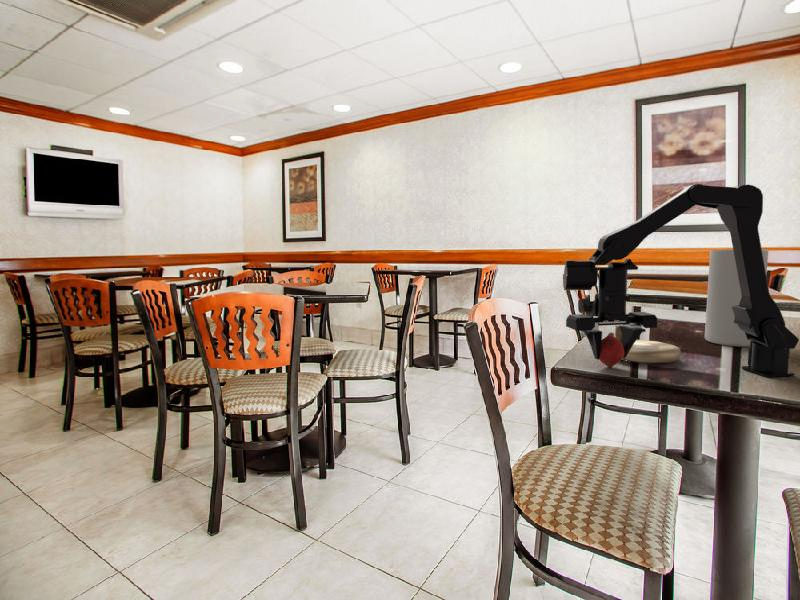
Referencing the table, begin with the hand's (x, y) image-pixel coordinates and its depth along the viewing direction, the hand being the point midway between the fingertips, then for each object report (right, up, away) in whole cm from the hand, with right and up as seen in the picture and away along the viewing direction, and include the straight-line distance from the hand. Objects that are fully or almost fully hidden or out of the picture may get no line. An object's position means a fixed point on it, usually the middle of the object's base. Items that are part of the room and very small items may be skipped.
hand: (610, 358), depth 104 cm
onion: (0, -2, 0) cm, 2 cm away
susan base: (+11, -1, +8) cm, 14 cm away
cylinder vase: (+43, +1, +22) cm, 49 cm away
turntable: (+11, -1, +8) cm, 14 cm away
